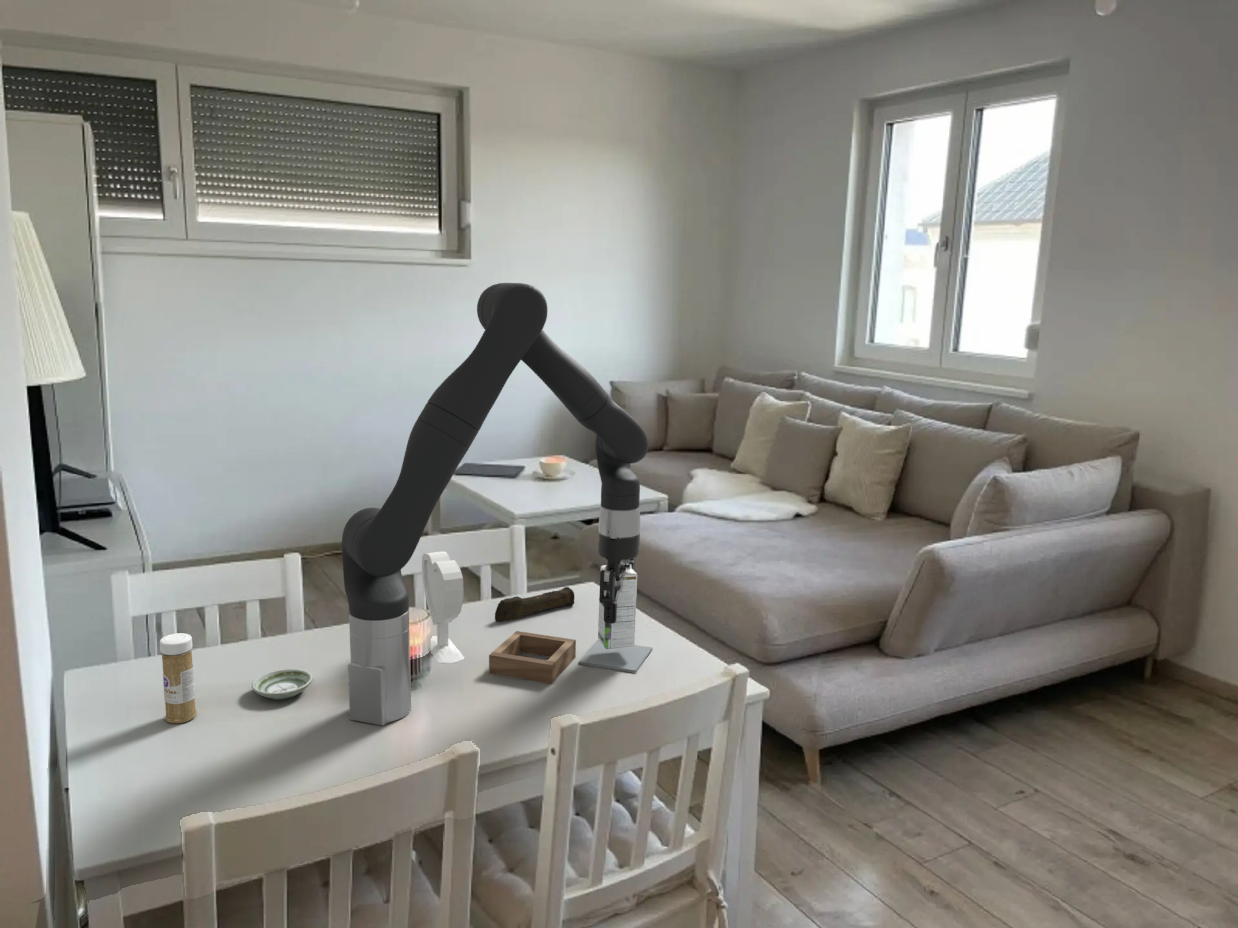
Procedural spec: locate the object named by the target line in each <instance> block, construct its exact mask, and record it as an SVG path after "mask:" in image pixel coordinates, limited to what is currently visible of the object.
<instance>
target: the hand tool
mask: <svg viewBox="0 0 1238 928" xmlns="http://www.w3.org/2000/svg"><path fill="white" fill-rule="evenodd" d="M574 604H575V592H574V590H573V589H571V588H570V587H569V586H565V587H563V588H562V589H559V590H552V591H548V592H544V593H542V594H538V595H533V596H530V597H523V598H522V597H520V596H514V597H507V598H504V599H501V600H500V601H499V602H498V604H497V606H496V609H495V613H494V621H495V622H510V621H515V619H516V620H520V619H522V618H523V616H526V615H529V614H533V613H539V612H542V611H546V610H551V609H555V608H560V607H564V606H570V605H571V607H573V606H574Z"/></svg>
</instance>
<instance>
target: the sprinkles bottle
mask: <svg viewBox="0 0 1238 928" xmlns="http://www.w3.org/2000/svg"><path fill="white" fill-rule="evenodd" d="M192 651H193V637H192V636H191V635H190V634H189V633H184V632H183V633H181V632H180V633H179V632H178V633H171V634H168V635H164V636H163V637H161V639H160V640H159V652H160V654H161V659H162V660H161V661H162V663H161V664H162V673H163V674H162V678H163V679H162V681H163V682H162V683H163V697H164V703H165V716H164V717H165V720H166V722H168V723H169V724H184V723H186V722H189V721H191V720H193V719H195V718H196V717H197V715H198V714H197V713H198V712H197V708H196V689H195V688H196V686H195V673H194V663H193V653H192Z"/></svg>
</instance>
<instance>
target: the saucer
mask: <svg viewBox="0 0 1238 928" xmlns="http://www.w3.org/2000/svg"><path fill="white" fill-rule="evenodd" d="M313 679H314V677H313V675H312V673H310V672H309V671H307V670H304V669H300V668H282V669H277V670H272V671H268V672H266V673H263V674H261V675H259V676H257V677H256V678H255V679H254V680H253V681H252V682H251V689H252V691H253V692H255V693H257V694H258V695H259V696H261V697H264V698H267V699H271V700H286V699H290V698H293V697H295V696H297V695H299V694H300V693H302V692H303V691H305V690H306V689H307V688H308V687H309V686H310V685H311V684H312V682H313V681H314V680H313Z"/></svg>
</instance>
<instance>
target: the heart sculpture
mask: <svg viewBox="0 0 1238 928" xmlns="http://www.w3.org/2000/svg"><path fill="white" fill-rule="evenodd" d="M459 566H460V565H458V562H457V561H456V560H455V559H450V556H449V553H447V552H446V551H434V552H427V553H426V552H425V553H423V554H422V556H421V574H422V575H421V576H422V584H423V590H424V596H425V600H426V604H427V607H428V610H429V614H430V617H431V621H432V624H433V626H435V625H436V635H432V638H431V652H430V653H431V655H432V656H433V657H434V659H435V660H436V662H437V664H438V663H439V664H451V663H452V664H453V663H457V662H459V661H463V660H464V659H465V656H464V655H463V654H462V652H461V651H460V650H459V648H457V647H456V645H455V644H454V643H453V640H451V639H450V637H449V623H452V622H453V621H454V620H456V618H458V617H459V615H460V613H461V611H462V607H463V604H464V603H463V602H464V590H465V589H464V578H463V577H464V576H463V574H462V573H463V572H462V570H461V568H460V567H459Z"/></svg>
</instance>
